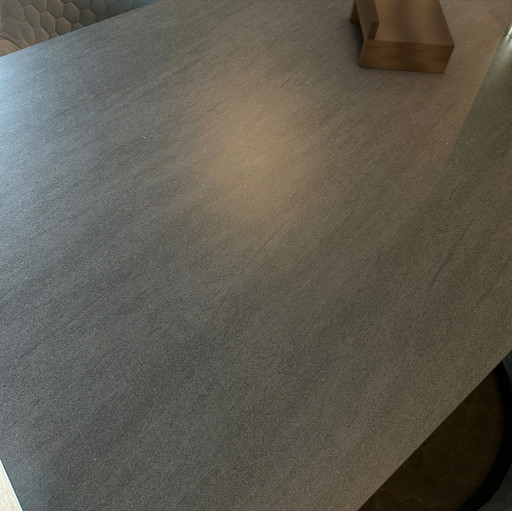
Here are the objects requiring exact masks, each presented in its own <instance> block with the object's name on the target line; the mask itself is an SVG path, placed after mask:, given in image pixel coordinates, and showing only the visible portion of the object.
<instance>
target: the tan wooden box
mask: <svg viewBox="0 0 512 511" xmlns="http://www.w3.org/2000/svg"><path fill="white" fill-rule="evenodd" d="M350 9H351V10H350V12H349V16H348V19H349V22H350V23H360V27H361V33H362V36H363V37H362V38H363V44H362V46H361V47H362V48H361V51H360V55H359V59H358V62H357V63H358V68H363V69H364V68H365V69H376V70H379V69H380V70H389V71H390V70H392V71H406V72H419V73H434V74H445V71H446V69H447V66H448V65H449V62H450V60H451V57H452V54H453V53H454V50H455V48H456V44H455V42H454V38H453V36H452V32H451V30H450V27H449V24H448V21H447V18H446V16H445V13H444V10H443V7H442V4H441V2H440V0H352V5H351V8H350Z"/></svg>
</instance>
